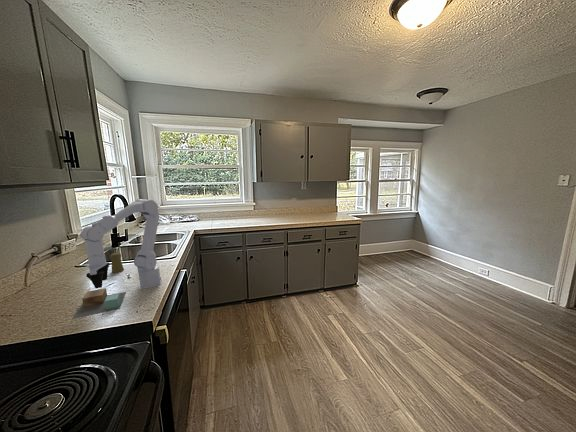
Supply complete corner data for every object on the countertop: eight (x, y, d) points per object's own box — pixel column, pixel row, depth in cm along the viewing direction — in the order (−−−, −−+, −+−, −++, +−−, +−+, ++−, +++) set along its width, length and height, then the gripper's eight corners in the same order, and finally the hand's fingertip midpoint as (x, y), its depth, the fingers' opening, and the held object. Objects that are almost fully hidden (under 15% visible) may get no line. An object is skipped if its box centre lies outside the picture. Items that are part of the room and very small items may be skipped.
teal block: (120, 301, 108) (119, 293, 107) (118, 307, 104) (117, 298, 103) (108, 304, 106) (106, 296, 105) (105, 309, 102) (104, 301, 101)
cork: (113, 269, 143) (110, 252, 141) (125, 268, 145) (122, 251, 143) (110, 274, 138) (107, 255, 135) (122, 272, 140) (119, 254, 137)
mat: (126, 292, 117) (126, 291, 117) (119, 309, 102) (119, 308, 102) (85, 300, 110) (85, 299, 110) (72, 320, 96) (71, 319, 96)
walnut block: (107, 295, 113) (105, 288, 112) (103, 303, 107) (102, 295, 106) (88, 299, 110) (87, 291, 109) (83, 307, 104) (82, 298, 103)
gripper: (89, 250, 107) (95, 278, 109) (77, 261, 94) (84, 293, 96) (109, 248, 110) (113, 275, 112) (99, 258, 97) (105, 289, 99)
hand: (101, 283), depth 105 cm, fingers open, 7 cm apart
